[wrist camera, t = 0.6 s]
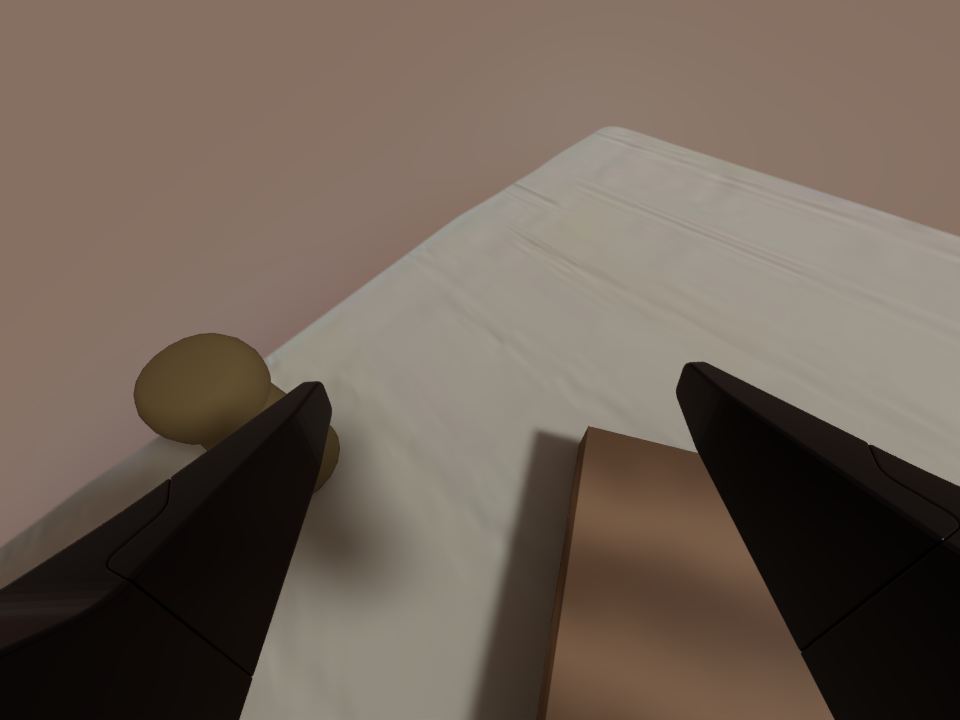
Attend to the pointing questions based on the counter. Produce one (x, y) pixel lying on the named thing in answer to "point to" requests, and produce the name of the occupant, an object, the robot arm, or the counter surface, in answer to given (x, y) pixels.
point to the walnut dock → (663, 600)
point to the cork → (211, 393)
